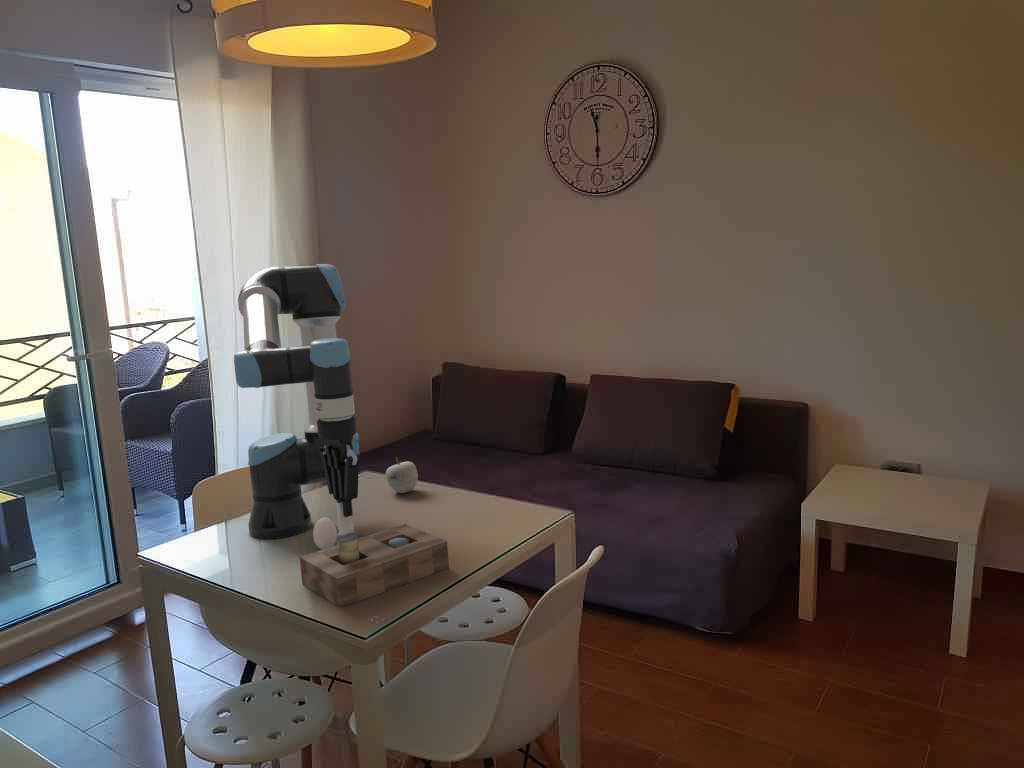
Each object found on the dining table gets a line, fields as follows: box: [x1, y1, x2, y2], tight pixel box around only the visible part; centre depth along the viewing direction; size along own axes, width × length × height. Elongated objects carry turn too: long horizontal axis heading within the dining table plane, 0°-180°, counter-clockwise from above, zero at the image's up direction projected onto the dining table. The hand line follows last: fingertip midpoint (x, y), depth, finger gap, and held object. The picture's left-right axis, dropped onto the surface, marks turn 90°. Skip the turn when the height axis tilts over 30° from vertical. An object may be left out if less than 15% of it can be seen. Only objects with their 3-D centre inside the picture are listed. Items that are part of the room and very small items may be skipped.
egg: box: [312, 517, 338, 550], centre depth 188 cm, size 5×5×8 cm
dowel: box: [336, 530, 360, 565], centre depth 167 cm, size 4×4×6 cm
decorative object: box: [385, 457, 419, 494], centre depth 228 cm, size 9×9×10 cm
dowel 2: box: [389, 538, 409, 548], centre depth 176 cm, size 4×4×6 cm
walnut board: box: [299, 523, 450, 609], centre depth 172 cm, size 16×26×6 cm, turn 131°
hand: (346, 530), depth 166 cm, fingers closed
